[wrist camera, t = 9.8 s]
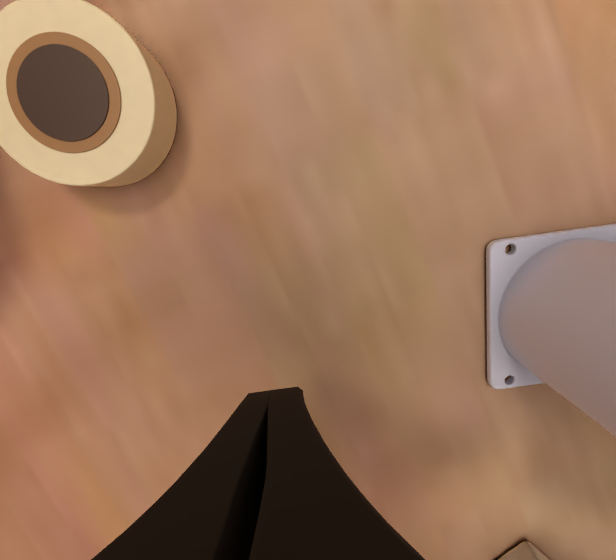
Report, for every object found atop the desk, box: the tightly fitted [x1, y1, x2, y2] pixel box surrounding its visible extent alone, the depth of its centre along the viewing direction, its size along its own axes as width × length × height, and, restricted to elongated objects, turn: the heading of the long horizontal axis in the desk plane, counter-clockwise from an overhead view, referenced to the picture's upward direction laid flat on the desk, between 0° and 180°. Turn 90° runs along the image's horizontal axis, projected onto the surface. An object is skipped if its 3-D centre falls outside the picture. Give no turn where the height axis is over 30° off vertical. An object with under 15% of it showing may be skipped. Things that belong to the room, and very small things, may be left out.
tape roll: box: [0, 0, 177, 187], centre depth 14 cm, size 6×6×3 cm
